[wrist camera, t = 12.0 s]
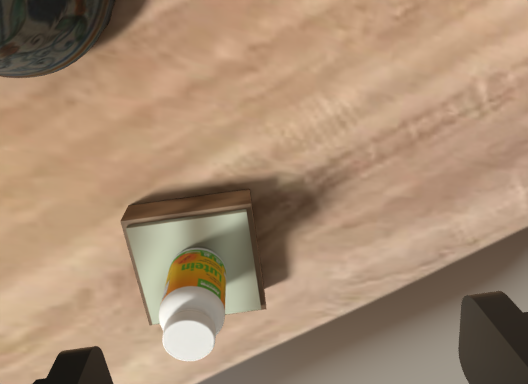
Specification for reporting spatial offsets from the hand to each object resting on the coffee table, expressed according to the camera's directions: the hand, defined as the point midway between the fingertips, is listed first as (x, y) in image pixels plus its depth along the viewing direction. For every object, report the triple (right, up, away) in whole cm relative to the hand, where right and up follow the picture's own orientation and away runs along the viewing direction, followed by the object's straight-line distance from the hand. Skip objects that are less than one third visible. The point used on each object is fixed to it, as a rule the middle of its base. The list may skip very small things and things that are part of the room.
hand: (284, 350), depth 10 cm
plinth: (-7, -2, +37) cm, 37 cm away
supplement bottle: (-7, -4, +33) cm, 34 cm away
